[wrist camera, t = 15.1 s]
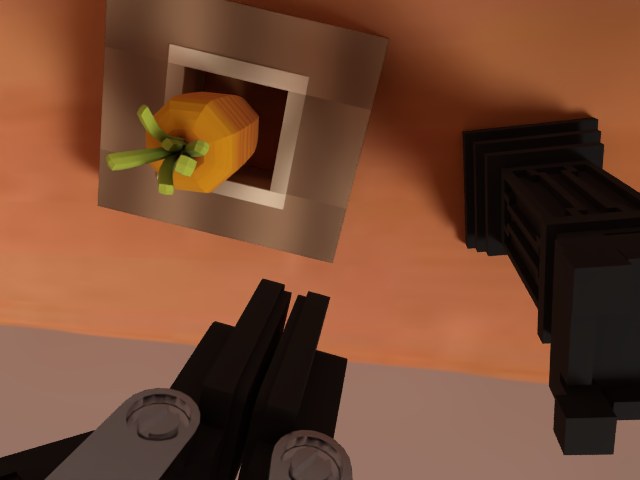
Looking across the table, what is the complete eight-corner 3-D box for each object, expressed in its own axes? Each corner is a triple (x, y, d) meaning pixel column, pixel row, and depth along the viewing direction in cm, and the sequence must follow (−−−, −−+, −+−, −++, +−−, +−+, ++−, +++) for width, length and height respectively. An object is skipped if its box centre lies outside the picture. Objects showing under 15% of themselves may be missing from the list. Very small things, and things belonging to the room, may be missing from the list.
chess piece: (465, 244, 36) (551, 464, 18) (462, 131, 34) (561, 257, 15) (585, 235, 35) (808, 460, 17) (593, 117, 32) (871, 235, 14)
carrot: (199, 132, 35) (77, 191, 22) (227, 64, 34) (113, 82, 20) (263, 166, 36) (182, 246, 22) (294, 101, 34) (228, 144, 20)
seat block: (388, 38, 32) (389, 39, 28) (337, 240, 37) (332, 264, 34) (139, -21, 32) (106, -28, 28) (125, 188, 38) (96, 206, 34)
